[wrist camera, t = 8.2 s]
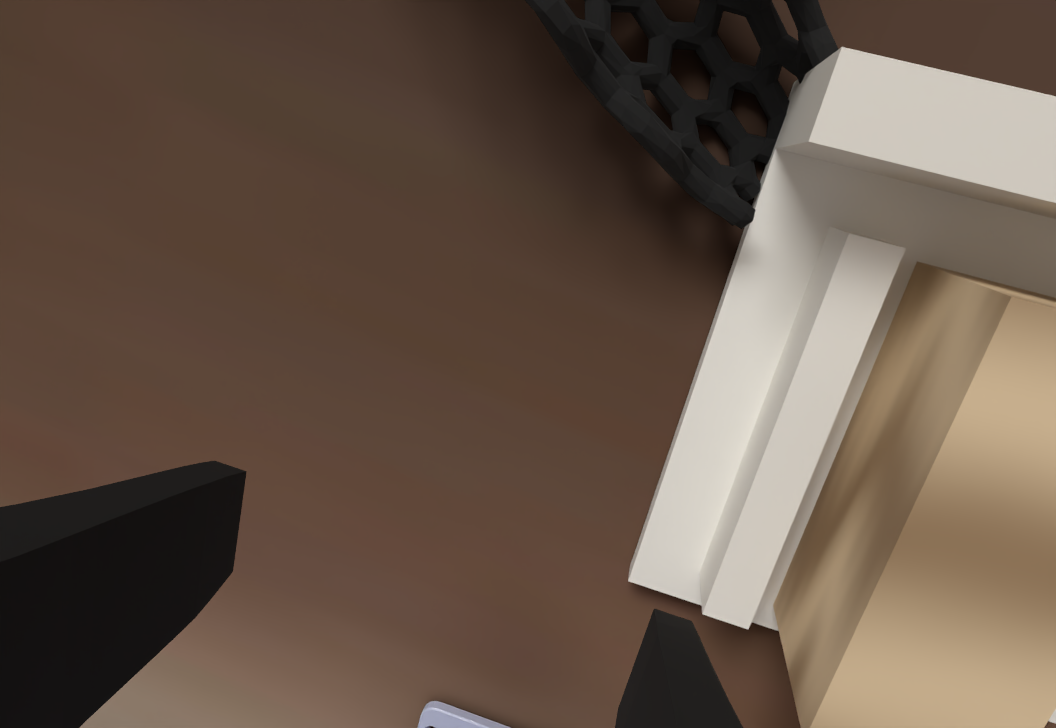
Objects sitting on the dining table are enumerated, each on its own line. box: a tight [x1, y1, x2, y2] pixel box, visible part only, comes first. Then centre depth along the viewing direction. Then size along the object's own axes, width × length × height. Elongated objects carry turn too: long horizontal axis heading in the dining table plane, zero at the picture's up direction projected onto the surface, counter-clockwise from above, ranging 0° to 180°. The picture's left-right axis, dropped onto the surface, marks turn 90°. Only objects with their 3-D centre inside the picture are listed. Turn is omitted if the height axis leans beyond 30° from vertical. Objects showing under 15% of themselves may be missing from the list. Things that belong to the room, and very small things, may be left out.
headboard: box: [628, 47, 1056, 723], centre depth 16 cm, size 14×12×5 cm
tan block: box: [773, 261, 1056, 728], centre depth 16 cm, size 10×4×5 cm, turn 166°
